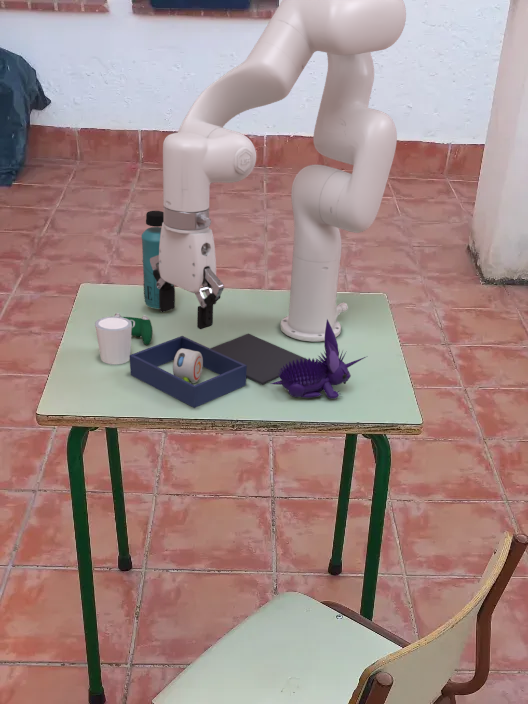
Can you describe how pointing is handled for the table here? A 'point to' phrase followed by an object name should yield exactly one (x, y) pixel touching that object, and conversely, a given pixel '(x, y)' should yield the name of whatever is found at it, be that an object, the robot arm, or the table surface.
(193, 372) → the roller toy
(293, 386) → the creature
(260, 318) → the table surface
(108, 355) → the white cup
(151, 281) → the beverage bottle
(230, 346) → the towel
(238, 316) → the table surface
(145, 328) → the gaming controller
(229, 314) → the table surface
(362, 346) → the table surface
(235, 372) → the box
